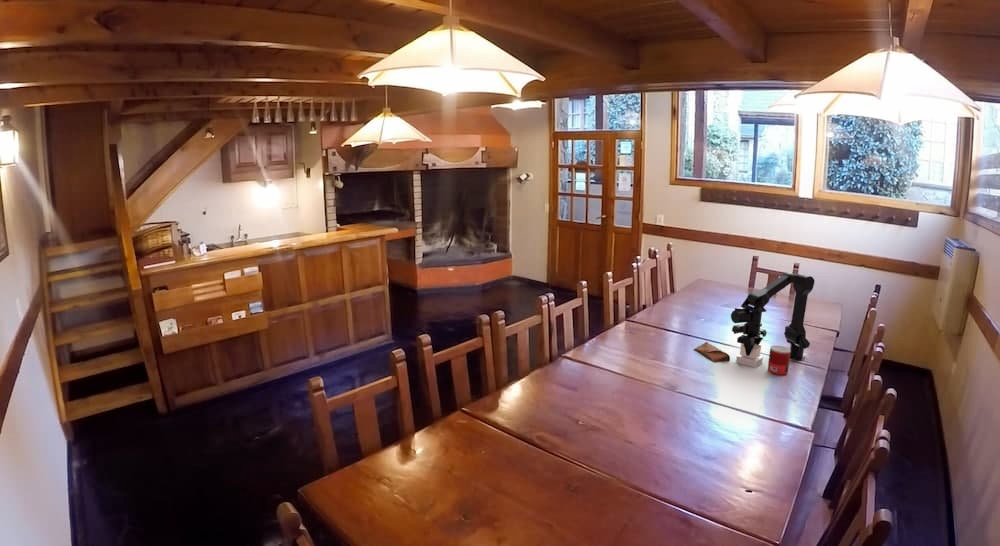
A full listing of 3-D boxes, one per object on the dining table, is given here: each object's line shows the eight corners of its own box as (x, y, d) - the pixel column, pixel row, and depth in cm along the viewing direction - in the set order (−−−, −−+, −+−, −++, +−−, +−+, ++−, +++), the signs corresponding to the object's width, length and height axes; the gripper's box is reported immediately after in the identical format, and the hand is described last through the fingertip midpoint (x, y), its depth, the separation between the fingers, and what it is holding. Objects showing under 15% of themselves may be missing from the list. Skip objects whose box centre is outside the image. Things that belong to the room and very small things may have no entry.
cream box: (744, 351, 271) (745, 341, 270) (760, 356, 266) (761, 345, 265) (739, 354, 267) (740, 344, 266) (755, 359, 263) (756, 348, 262)
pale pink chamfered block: (742, 358, 273) (742, 352, 273) (762, 363, 267) (762, 357, 266) (736, 362, 268) (736, 356, 268) (756, 367, 262) (756, 361, 262)
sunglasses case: (691, 348, 284) (698, 336, 284) (701, 354, 286) (708, 342, 286) (714, 362, 267) (722, 350, 267) (725, 368, 270) (732, 356, 269)
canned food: (789, 376, 253) (792, 352, 251) (769, 375, 255) (772, 351, 252) (784, 369, 260) (788, 346, 258) (765, 368, 262) (768, 344, 259)
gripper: (744, 312, 275) (740, 344, 279) (727, 321, 262) (723, 354, 266) (768, 318, 267) (764, 350, 271) (752, 327, 254) (748, 361, 258)
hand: (750, 354), depth 267 cm, fingers closed on cream box, 5 cm apart
